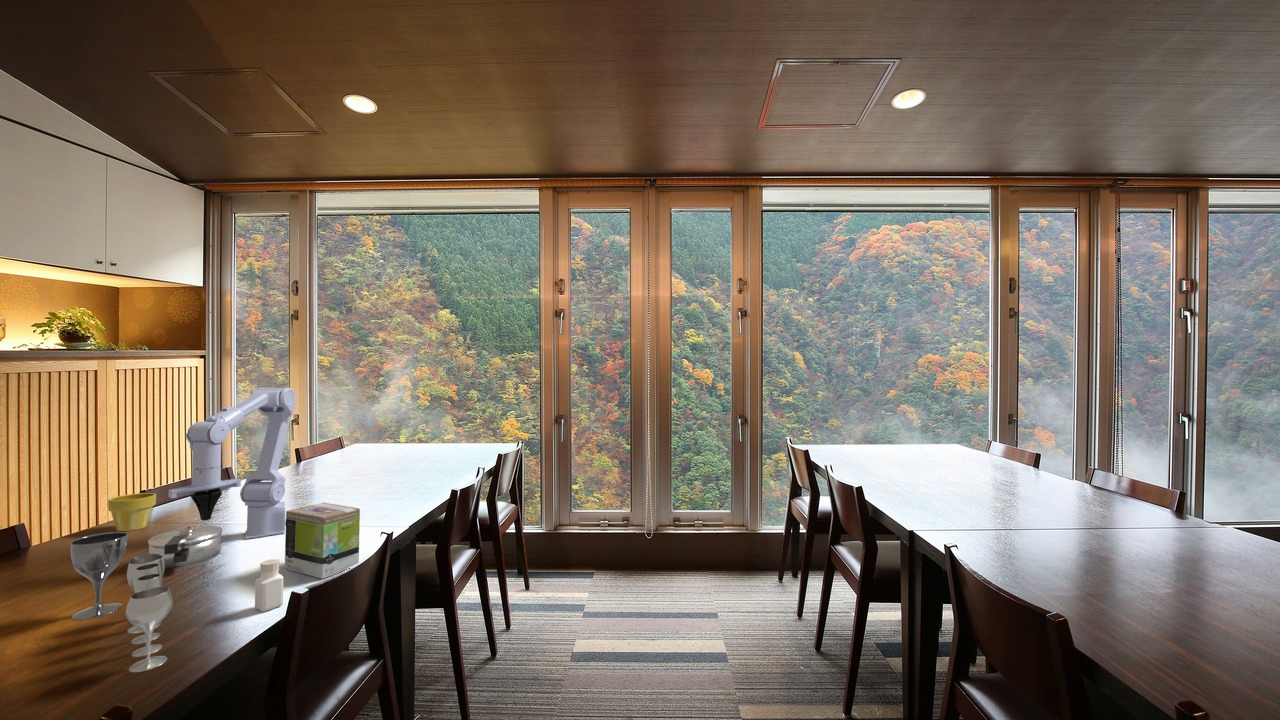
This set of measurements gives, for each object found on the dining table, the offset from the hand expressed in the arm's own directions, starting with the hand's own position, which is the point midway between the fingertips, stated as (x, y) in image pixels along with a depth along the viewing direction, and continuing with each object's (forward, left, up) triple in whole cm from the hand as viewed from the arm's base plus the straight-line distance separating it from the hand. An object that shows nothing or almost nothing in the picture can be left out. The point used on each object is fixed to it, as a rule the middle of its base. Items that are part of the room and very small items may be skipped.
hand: (205, 519), depth 131 cm
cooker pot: (+4, -1, -10) cm, 11 cm away
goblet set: (+5, +44, -11) cm, 45 cm away
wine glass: (+15, +24, -11) cm, 30 cm away
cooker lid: (+4, -1, -5) cm, 7 cm away
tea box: (-24, +24, -11) cm, 35 cm away
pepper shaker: (-13, +42, -11) cm, 45 cm away
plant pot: (+20, -45, -11) cm, 50 cm away
